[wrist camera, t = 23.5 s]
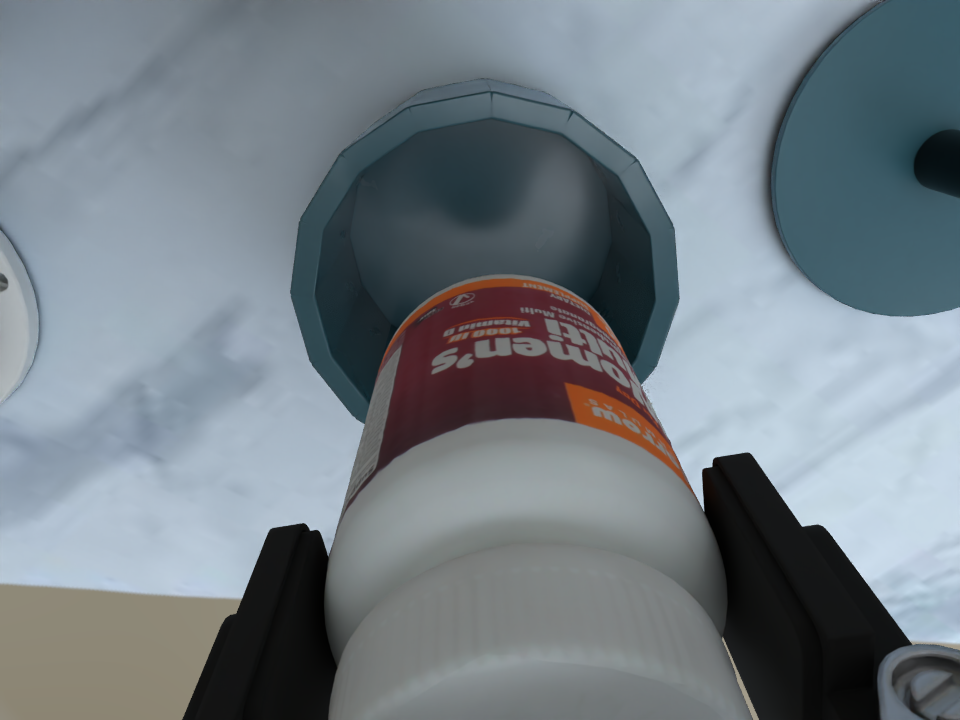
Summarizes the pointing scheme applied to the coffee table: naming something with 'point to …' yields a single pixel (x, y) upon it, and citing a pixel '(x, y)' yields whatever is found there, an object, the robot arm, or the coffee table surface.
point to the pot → (477, 226)
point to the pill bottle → (521, 529)
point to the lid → (877, 163)
